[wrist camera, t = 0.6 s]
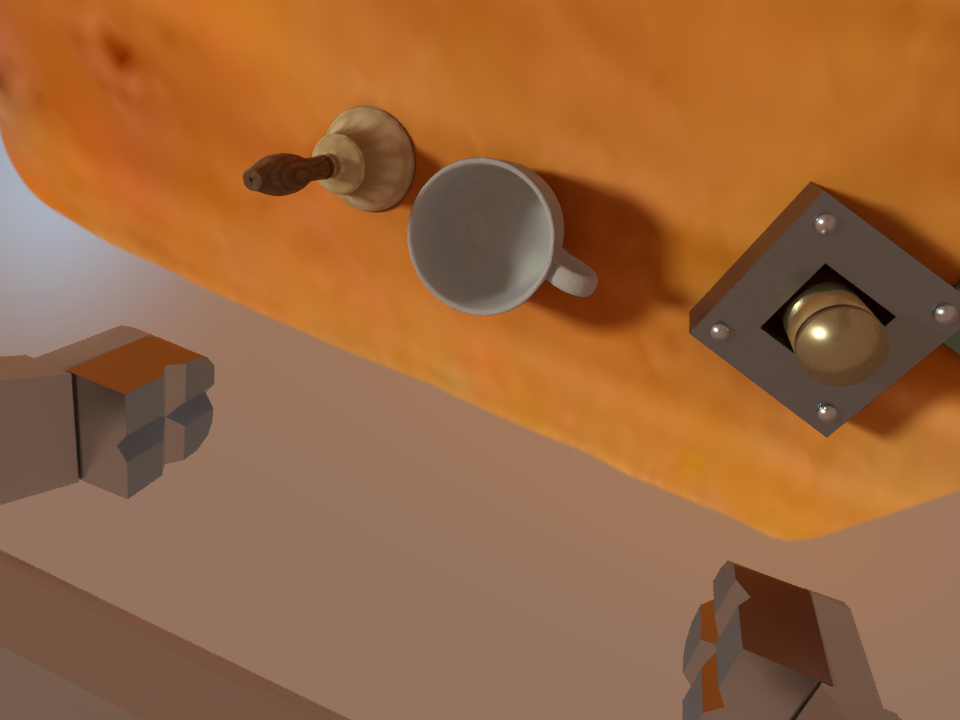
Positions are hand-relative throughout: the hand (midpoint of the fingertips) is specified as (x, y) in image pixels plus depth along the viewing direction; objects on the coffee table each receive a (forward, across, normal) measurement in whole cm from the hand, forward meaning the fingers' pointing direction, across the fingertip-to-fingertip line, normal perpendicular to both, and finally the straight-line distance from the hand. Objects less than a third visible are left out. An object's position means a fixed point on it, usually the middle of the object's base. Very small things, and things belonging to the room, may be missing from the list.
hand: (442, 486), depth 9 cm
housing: (+41, -14, +5) cm, 44 cm away
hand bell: (+42, +22, +4) cm, 47 cm away
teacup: (+42, +7, +6) cm, 43 cm away
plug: (+41, -14, +5) cm, 44 cm away
